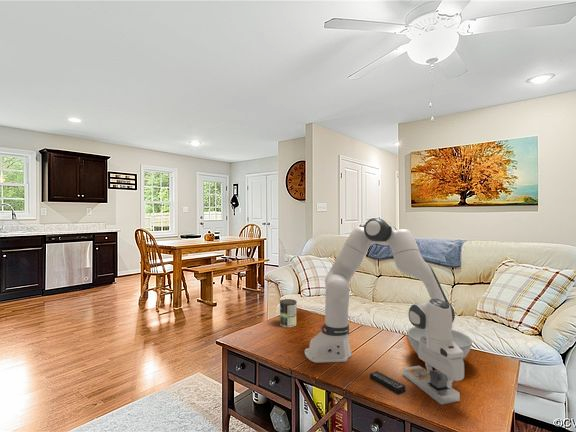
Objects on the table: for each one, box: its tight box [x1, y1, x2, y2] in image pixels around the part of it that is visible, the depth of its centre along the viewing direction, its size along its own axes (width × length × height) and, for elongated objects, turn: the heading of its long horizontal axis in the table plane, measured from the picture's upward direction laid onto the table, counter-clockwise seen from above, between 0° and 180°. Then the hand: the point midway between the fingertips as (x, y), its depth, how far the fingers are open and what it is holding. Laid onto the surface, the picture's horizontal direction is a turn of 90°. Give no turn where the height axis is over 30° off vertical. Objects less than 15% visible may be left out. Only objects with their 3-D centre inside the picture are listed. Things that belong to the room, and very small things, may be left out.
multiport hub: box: [369, 370, 406, 395], centre depth 129 cm, size 4×14×2 cm, turn 32°
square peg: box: [430, 369, 448, 391], centre depth 122 cm, size 4×4×8 cm
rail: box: [402, 365, 461, 406], centre depth 127 cm, size 8×22×3 cm, turn 16°
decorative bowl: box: [406, 326, 473, 360], centre depth 149 cm, size 27×27×12 cm
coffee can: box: [279, 298, 298, 328], centre depth 199 cm, size 10×10×14 cm
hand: (439, 380), depth 123 cm, fingers open, 8 cm apart
